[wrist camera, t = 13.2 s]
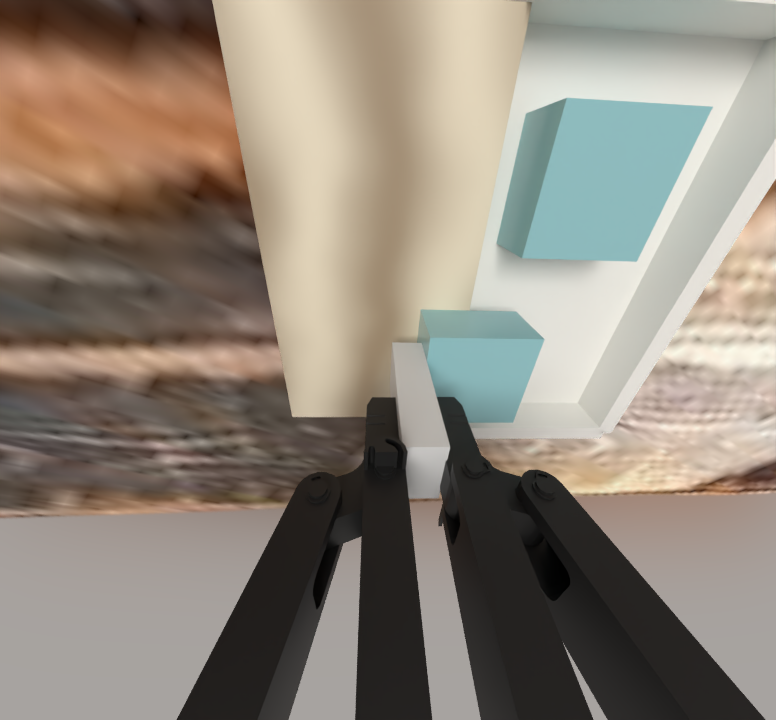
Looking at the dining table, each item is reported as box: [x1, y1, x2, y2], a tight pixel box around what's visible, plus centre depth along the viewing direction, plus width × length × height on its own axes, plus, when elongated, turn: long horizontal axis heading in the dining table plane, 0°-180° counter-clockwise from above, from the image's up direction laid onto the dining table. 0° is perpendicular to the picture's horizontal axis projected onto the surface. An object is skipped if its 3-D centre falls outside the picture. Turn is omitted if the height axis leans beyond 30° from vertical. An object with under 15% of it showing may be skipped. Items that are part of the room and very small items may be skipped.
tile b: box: [417, 309, 545, 423], centre depth 15 cm, size 5×5×3 cm
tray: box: [469, 0, 776, 439], centre depth 15 cm, size 11×20×3 cm, turn 178°
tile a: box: [497, 98, 713, 262], centre depth 12 cm, size 5×5×3 cm
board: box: [212, 0, 532, 417], centre depth 15 cm, size 10×18×2 cm, turn 178°
